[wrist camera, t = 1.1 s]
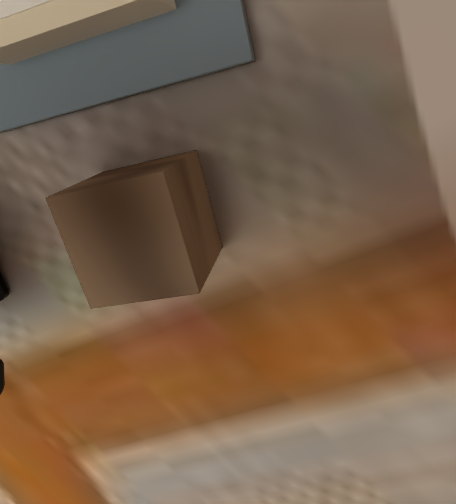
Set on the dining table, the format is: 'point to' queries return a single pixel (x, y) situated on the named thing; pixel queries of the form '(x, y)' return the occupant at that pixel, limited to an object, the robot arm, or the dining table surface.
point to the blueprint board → (109, 51)
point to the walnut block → (139, 231)
